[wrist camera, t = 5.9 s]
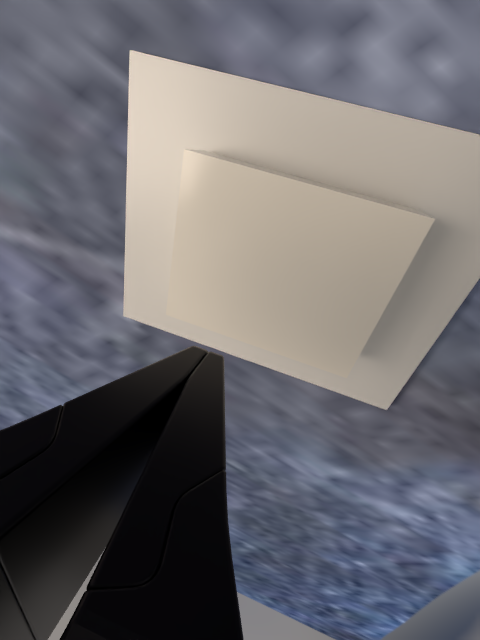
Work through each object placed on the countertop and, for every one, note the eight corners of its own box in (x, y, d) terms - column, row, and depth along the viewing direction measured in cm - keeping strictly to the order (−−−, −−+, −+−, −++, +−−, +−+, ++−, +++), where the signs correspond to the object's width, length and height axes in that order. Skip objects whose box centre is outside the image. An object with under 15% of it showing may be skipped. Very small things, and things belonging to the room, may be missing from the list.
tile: (206, 150, 14) (418, 209, 13) (184, 296, 18) (344, 351, 17) (184, 149, 12) (434, 218, 11) (165, 314, 16) (346, 378, 15)
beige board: (555, 155, 12) (565, 155, 11) (385, 403, 19) (386, 410, 18) (137, 54, 14) (129, 50, 13) (128, 312, 21) (123, 316, 20)
